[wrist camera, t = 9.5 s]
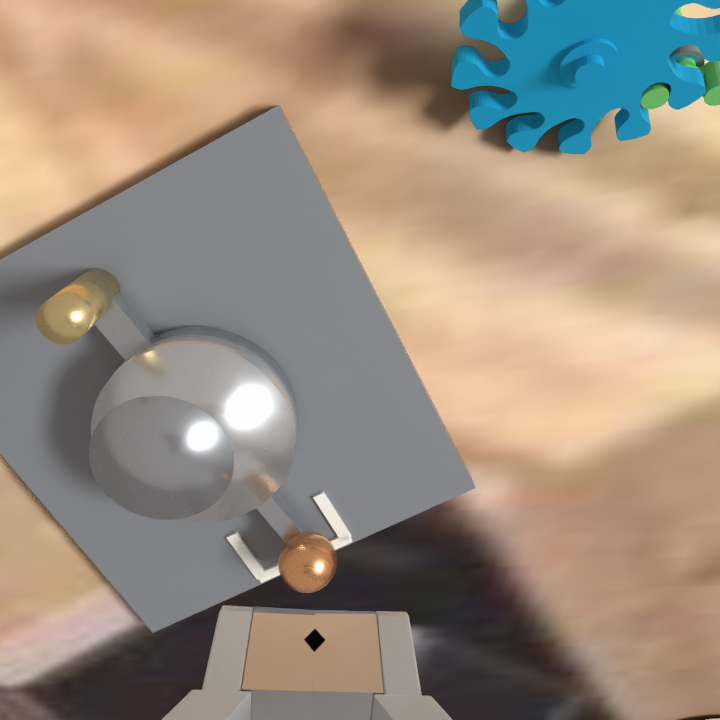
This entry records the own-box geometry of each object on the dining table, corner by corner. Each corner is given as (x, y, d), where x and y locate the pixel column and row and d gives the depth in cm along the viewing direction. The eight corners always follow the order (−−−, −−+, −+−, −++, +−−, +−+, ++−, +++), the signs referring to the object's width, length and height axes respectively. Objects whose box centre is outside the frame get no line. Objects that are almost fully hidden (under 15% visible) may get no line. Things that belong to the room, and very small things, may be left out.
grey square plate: (471, 477, 35) (476, 489, 34) (157, 619, 37) (151, 635, 36) (279, 105, 27) (277, 105, 26) (-100, 315, 30) (-116, 323, 28)
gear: (408, 128, 26) (551, -118, 17) (412, 24, 28) (540, -239, 20) (631, 194, 29) (849, 14, 20) (618, 96, 32) (809, -105, 23)
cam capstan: (168, 215, 27) (139, 237, 23) (394, 519, 34) (405, 580, 30) (-1, 331, 29) (-57, 371, 25) (248, 600, 35) (237, 669, 31)
